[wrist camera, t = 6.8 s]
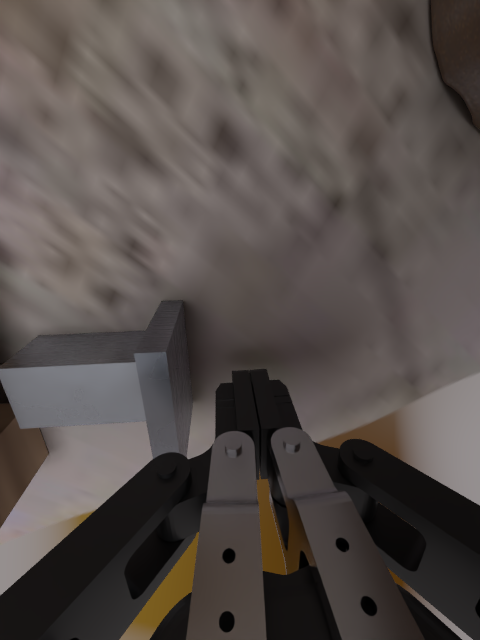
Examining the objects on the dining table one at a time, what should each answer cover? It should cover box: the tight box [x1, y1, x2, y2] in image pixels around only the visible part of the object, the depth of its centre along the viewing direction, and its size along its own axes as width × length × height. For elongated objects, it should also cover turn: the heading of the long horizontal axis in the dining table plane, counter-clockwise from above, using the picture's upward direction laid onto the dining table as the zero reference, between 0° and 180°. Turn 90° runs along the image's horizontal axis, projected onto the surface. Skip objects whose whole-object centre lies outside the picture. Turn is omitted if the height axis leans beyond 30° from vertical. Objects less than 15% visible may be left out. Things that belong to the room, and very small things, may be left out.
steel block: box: [0, 300, 193, 459], centre depth 13 cm, size 7×6×5 cm
